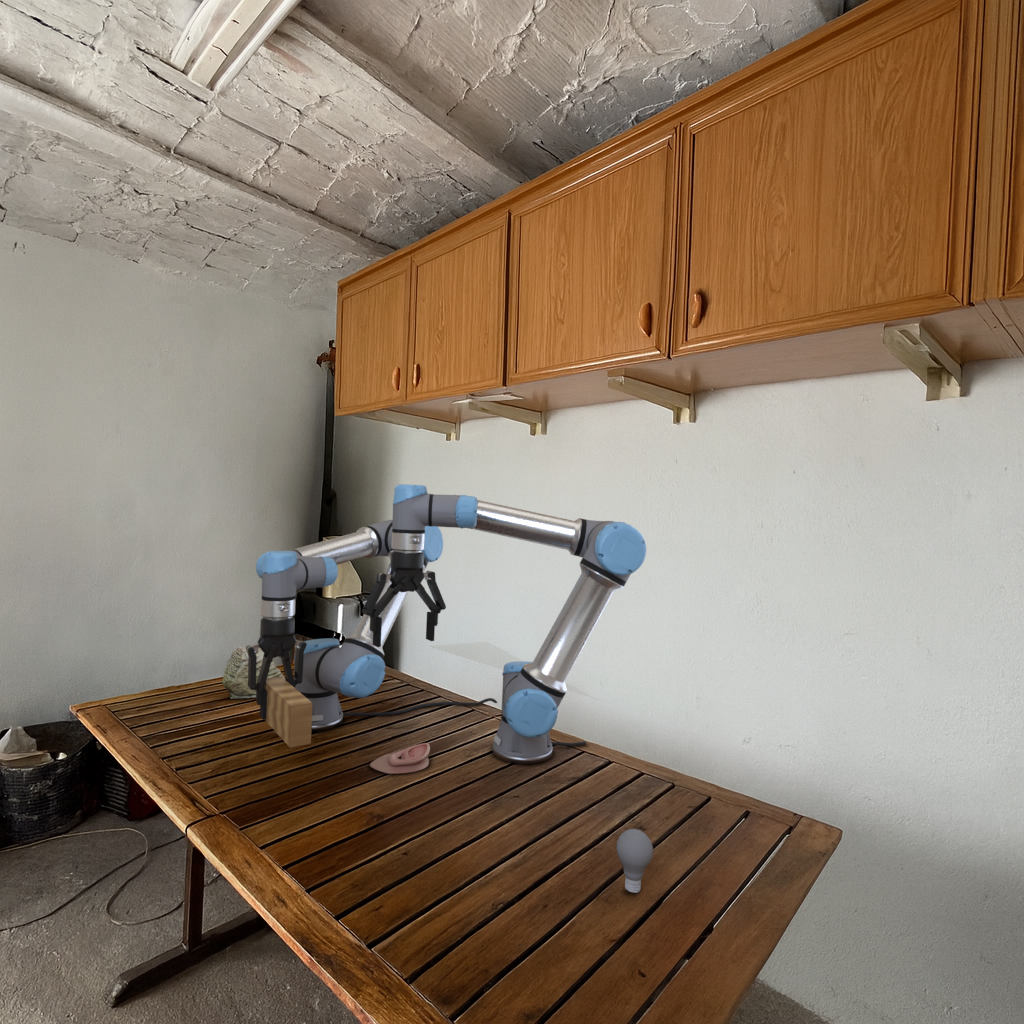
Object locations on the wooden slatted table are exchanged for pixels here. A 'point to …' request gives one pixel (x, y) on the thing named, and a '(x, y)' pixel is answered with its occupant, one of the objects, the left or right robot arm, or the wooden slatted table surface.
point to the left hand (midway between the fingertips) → (274, 715)
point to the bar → (288, 712)
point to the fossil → (244, 673)
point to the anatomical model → (404, 760)
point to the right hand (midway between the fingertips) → (404, 642)
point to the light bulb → (634, 857)
